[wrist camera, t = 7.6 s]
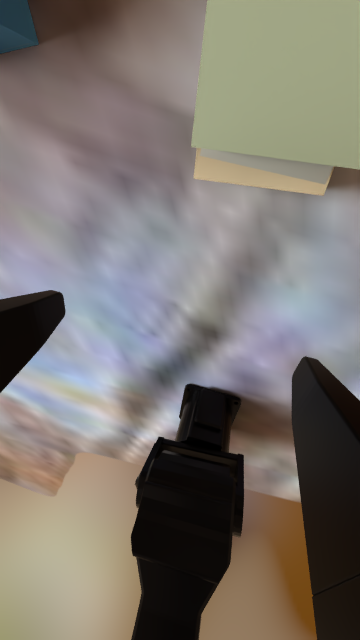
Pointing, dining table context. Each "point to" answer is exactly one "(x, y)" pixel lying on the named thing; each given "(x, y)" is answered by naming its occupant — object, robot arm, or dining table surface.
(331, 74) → the sage cube
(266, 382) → the dining table surface
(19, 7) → the perfume bottle
